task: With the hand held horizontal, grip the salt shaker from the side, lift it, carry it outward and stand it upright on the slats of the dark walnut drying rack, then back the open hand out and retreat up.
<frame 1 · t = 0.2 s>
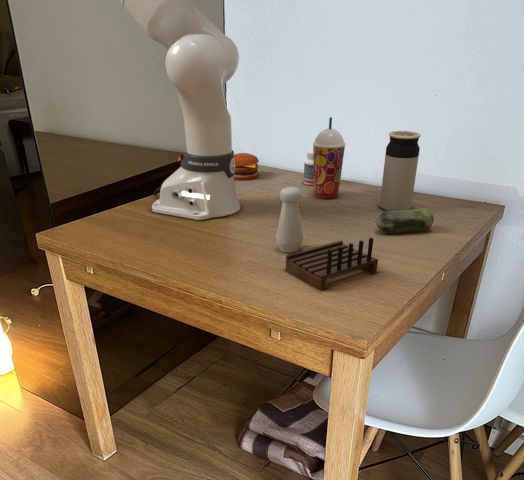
travel mug: (394, 208, 140), on the table
smoothie: (325, 196, 149), on the table
salt shaker: (289, 250, 117), on the table
pill bottle: (312, 184, 159), on the table
vegetable: (402, 231, 126), on the table
hamburger: (243, 176, 166), on the table
drying rack: (330, 271, 107), on the table
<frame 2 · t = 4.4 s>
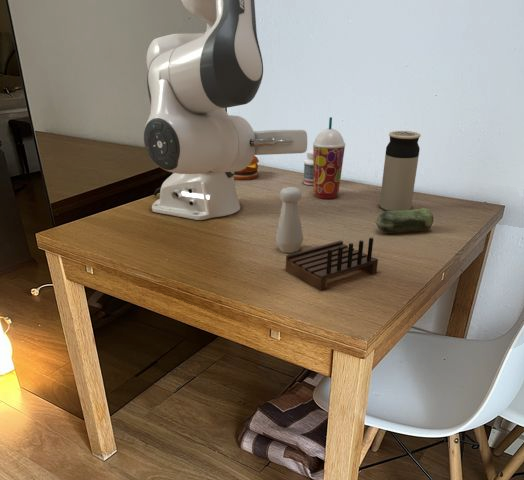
hand: (276, 143, 101), 22 cm above the table, tool horizontal, fingers open, 8 cm apart
nothing on the table moved.
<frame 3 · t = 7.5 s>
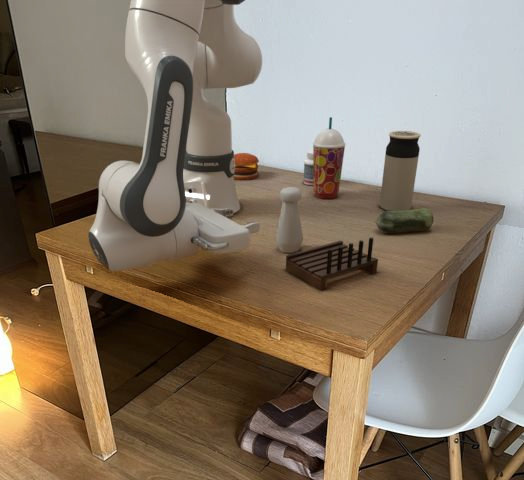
hand: (243, 219, 106), 9 cm above the table, tool horizontal, fingers open, 8 cm apart
nothing on the table moved.
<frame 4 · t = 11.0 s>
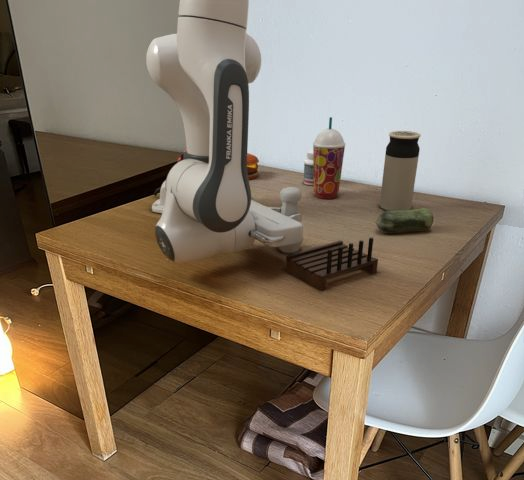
hand: (293, 214, 113), 8 cm above the table, tool horizontal, fingers closed on salt shaker, 3 cm apart
salt shaker: (289, 250, 117), on the table, touching gripper
everything else where it was.
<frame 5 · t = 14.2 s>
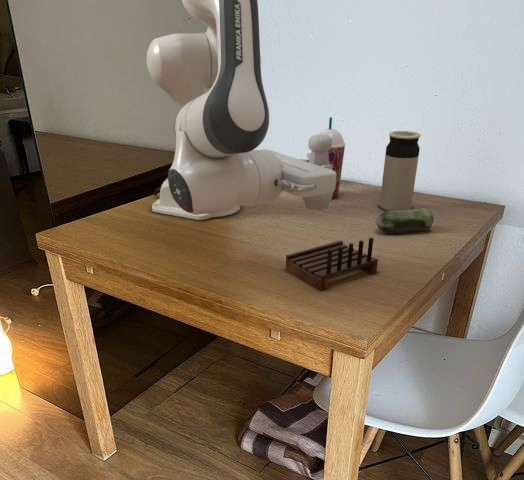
hand: (322, 166, 101), 19 cm above the table, tool horizontal, fingers closed on salt shaker, 3 cm apart
salt shaker: (316, 208, 104), point 11 cm above the table, touching gripper
everything else where it was.
when the fingers open (10 cm above the table, at t = 17.7 s): salt shaker stays where it is, resting on drying rack.
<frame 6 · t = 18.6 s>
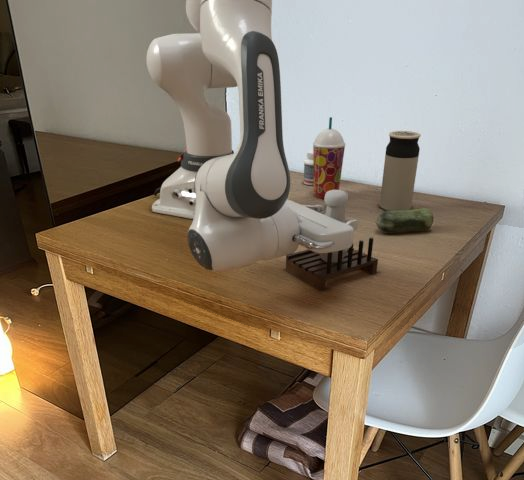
hand: (338, 216, 101), 11 cm above the table, tool horizontal, fingers open, 8 cm apart
salt shaker: (331, 259, 105), point 3 cm above the table, touching drying rack
everything else where it was.
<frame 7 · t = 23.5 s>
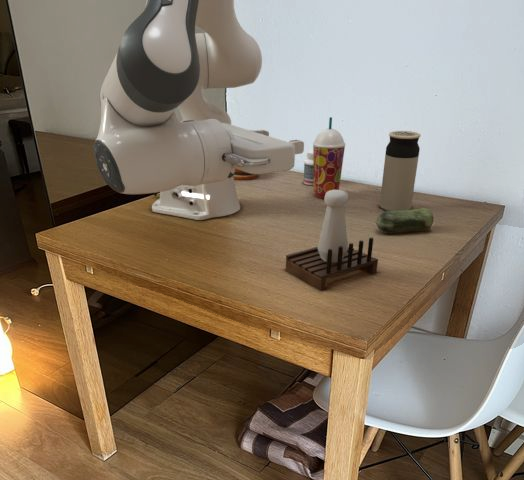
hand: (283, 140, 87), 26 cm above the table, tool horizontal, fingers open, 8 cm apart
nothing on the table moved.
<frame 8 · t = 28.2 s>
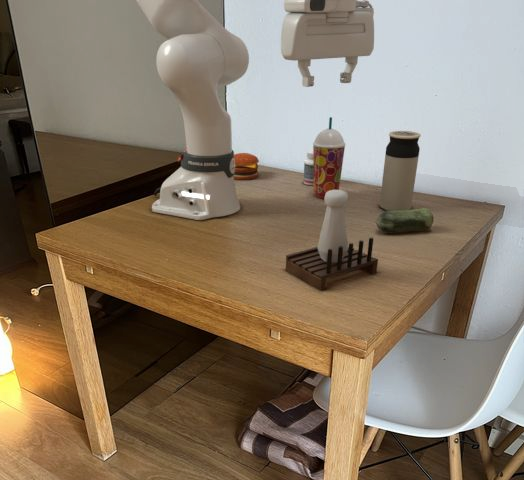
hand: (327, 84, 106), 31 cm above the table, tool pointing down, fingers open, 8 cm apart
nothing on the table moved.
at the end: salt shaker inside the target area on the drying rack (0.1 cm from its centre), point 2.6 cm above the drying rack's base; salt shaker tilted 0°; the gripper is holding nothing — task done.
